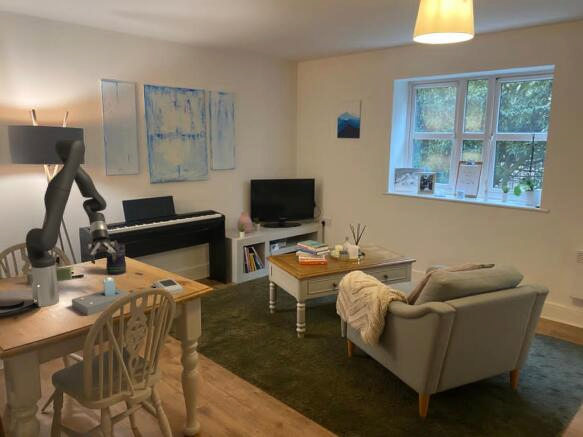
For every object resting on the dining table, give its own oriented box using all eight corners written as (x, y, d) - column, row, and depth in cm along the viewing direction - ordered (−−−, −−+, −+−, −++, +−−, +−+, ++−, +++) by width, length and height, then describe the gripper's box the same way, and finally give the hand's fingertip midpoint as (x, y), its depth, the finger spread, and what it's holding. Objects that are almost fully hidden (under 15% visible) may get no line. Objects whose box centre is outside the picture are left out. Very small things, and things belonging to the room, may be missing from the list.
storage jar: (103, 273, 238) (100, 245, 235) (119, 268, 246) (117, 242, 243) (114, 276, 232) (112, 248, 230) (130, 271, 240) (128, 245, 238)
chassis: (87, 315, 184) (87, 306, 183) (72, 306, 192) (71, 298, 192) (132, 301, 199) (131, 293, 198) (116, 294, 208) (115, 286, 207)
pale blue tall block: (106, 303, 197) (104, 280, 194) (104, 300, 200) (103, 277, 198) (115, 301, 199) (114, 278, 196) (114, 298, 202) (112, 276, 200)
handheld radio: (28, 283, 222) (83, 276, 232) (28, 285, 219) (84, 278, 230) (27, 270, 220) (82, 264, 231) (26, 272, 217) (83, 266, 228)
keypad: (171, 276, 223) (182, 285, 211) (172, 283, 224) (183, 292, 212) (152, 280, 218) (163, 289, 206) (153, 287, 219) (163, 296, 207)
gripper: (83, 229, 207) (87, 260, 199) (115, 226, 214) (121, 255, 206) (82, 238, 212) (87, 268, 205) (114, 235, 219) (120, 264, 211)
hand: (104, 262), depth 205 cm, fingers open, 8 cm apart
